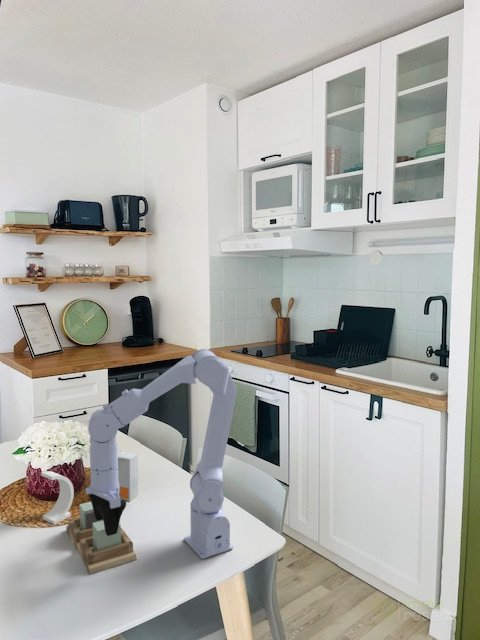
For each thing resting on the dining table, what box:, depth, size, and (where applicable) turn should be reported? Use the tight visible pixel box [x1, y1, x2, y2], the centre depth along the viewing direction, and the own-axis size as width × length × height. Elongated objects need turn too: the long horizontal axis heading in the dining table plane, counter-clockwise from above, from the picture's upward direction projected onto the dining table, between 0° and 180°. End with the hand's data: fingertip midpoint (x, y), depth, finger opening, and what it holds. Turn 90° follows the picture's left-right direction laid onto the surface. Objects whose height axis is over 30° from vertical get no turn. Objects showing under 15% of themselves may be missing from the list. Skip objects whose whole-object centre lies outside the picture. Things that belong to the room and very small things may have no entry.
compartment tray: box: [65, 516, 137, 575], centre depth 115 cm, size 20×10×3 cm, turn 32°
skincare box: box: [118, 450, 139, 502], centre depth 139 cm, size 6×4×12 cm
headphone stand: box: [40, 470, 75, 525], centre depth 128 cm, size 5×6×12 cm
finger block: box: [92, 520, 122, 552], centre depth 111 cm, size 4×5×6 cm
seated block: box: [78, 501, 103, 531], centre depth 119 cm, size 4×5×6 cm
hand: (106, 526), depth 111 cm, fingers open, 7 cm apart
